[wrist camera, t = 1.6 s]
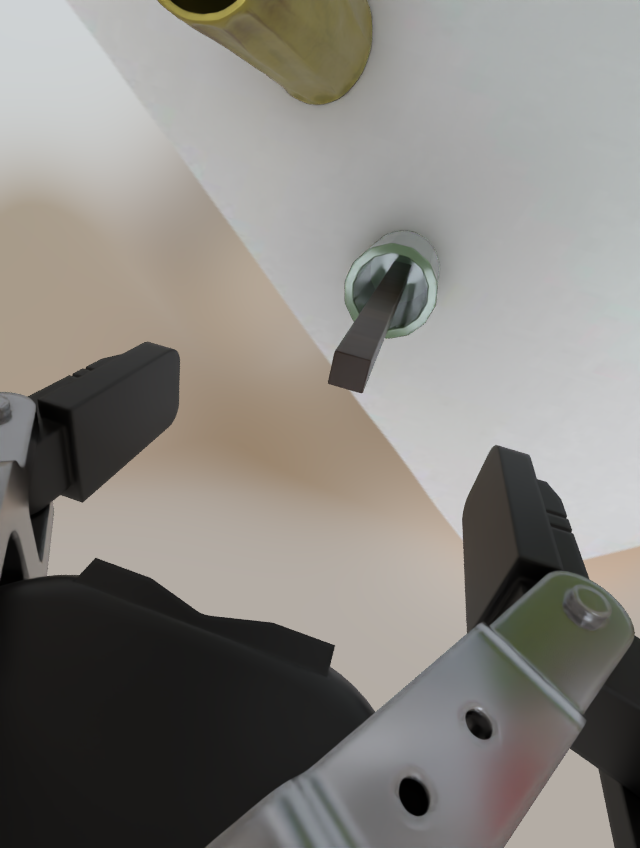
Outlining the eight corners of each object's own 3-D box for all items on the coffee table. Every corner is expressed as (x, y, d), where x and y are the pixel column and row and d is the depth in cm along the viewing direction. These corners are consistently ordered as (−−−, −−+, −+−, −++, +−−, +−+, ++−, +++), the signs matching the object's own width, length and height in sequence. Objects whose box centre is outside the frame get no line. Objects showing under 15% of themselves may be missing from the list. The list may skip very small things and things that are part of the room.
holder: (374, 222, 29) (354, 233, 23) (450, 240, 28) (451, 257, 22) (356, 297, 31) (335, 324, 25) (426, 315, 31) (421, 348, 25)
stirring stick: (394, 260, 29) (334, 350, 14) (411, 265, 29) (371, 360, 14) (389, 278, 30) (327, 384, 14) (406, 283, 29) (362, 394, 14)
